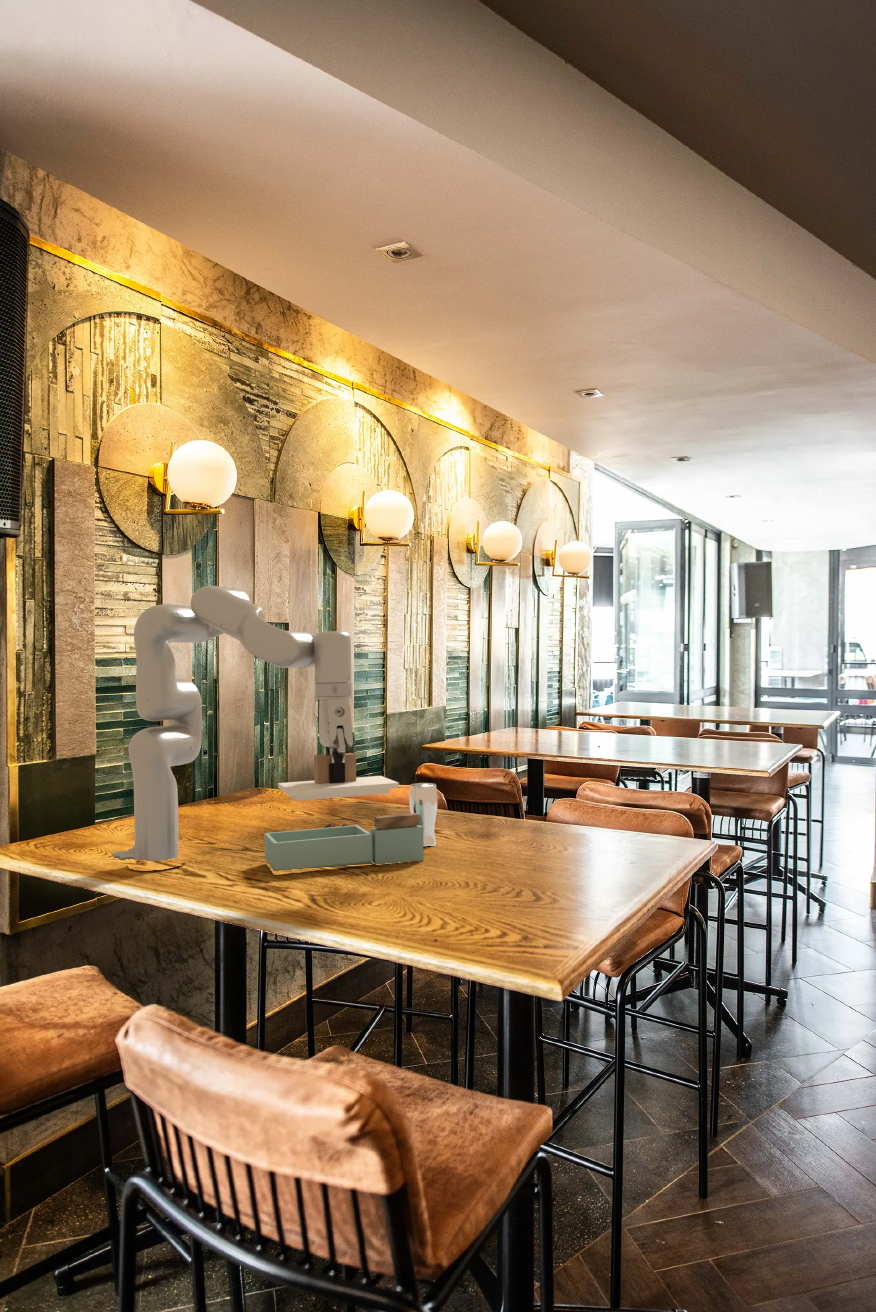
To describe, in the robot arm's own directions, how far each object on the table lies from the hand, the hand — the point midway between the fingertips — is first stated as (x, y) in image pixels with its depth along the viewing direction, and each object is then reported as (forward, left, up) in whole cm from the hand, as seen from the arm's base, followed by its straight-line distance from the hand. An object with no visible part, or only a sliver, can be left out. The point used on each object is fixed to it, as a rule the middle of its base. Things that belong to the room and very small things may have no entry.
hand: (334, 780), depth 173 cm
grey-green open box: (+7, +20, -22) cm, 30 cm away
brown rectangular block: (+18, +15, -13) cm, 27 cm away
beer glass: (+30, +29, -22) cm, 47 cm away
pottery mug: (+8, +31, -22) cm, 39 cm away
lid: (0, -2, -2) cm, 3 cm away
